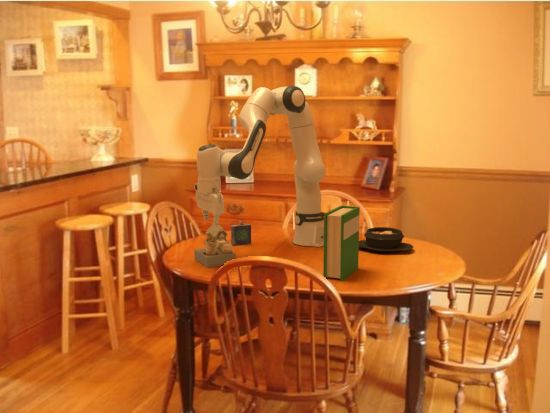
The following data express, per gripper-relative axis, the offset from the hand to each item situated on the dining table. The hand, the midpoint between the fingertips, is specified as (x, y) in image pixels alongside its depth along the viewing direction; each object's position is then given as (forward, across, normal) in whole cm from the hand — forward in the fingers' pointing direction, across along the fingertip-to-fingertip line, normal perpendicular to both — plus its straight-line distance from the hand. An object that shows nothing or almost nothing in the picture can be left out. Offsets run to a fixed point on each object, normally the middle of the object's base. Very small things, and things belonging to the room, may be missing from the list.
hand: (211, 222), depth 226 cm
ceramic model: (+17, +28, -14) cm, 35 cm away
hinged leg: (+13, +3, -6) cm, 14 cm away
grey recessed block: (+17, +2, -2) cm, 17 cm away
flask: (+17, +22, -23) cm, 36 cm away
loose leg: (+17, 0, +1) cm, 17 cm away
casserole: (+19, -16, -73) cm, 77 cm away
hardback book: (+18, -36, -36) cm, 54 cm away
